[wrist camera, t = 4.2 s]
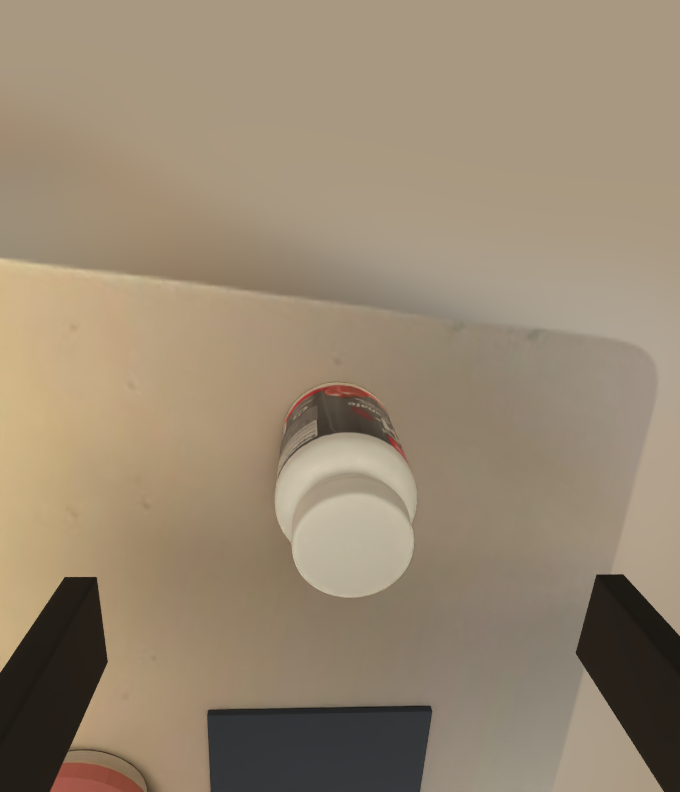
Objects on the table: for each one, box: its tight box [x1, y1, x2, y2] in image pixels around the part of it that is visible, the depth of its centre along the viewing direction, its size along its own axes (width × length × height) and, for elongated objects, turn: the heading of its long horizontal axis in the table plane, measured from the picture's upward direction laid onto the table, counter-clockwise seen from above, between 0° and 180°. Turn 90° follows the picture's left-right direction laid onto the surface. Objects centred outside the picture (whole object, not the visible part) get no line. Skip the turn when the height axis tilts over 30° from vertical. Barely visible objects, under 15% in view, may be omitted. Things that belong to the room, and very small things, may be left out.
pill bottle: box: [275, 382, 417, 598], centre depth 20 cm, size 5×5×10 cm
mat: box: [207, 706, 432, 792], centre depth 33 cm, size 14×14×1 cm
